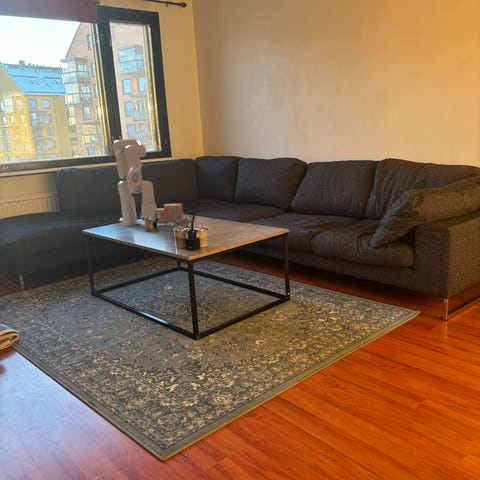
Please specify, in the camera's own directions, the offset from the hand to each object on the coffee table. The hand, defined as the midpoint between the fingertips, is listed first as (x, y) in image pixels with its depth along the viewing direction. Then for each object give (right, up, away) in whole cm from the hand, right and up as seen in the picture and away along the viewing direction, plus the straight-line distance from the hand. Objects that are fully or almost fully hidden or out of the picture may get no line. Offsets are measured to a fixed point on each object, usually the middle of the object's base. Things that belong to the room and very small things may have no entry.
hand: (151, 227), depth 323 cm
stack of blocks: (+7, +5, +31) cm, 32 cm away
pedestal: (0, -2, +1) cm, 2 cm away
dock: (+14, 0, +5) cm, 15 cm away
